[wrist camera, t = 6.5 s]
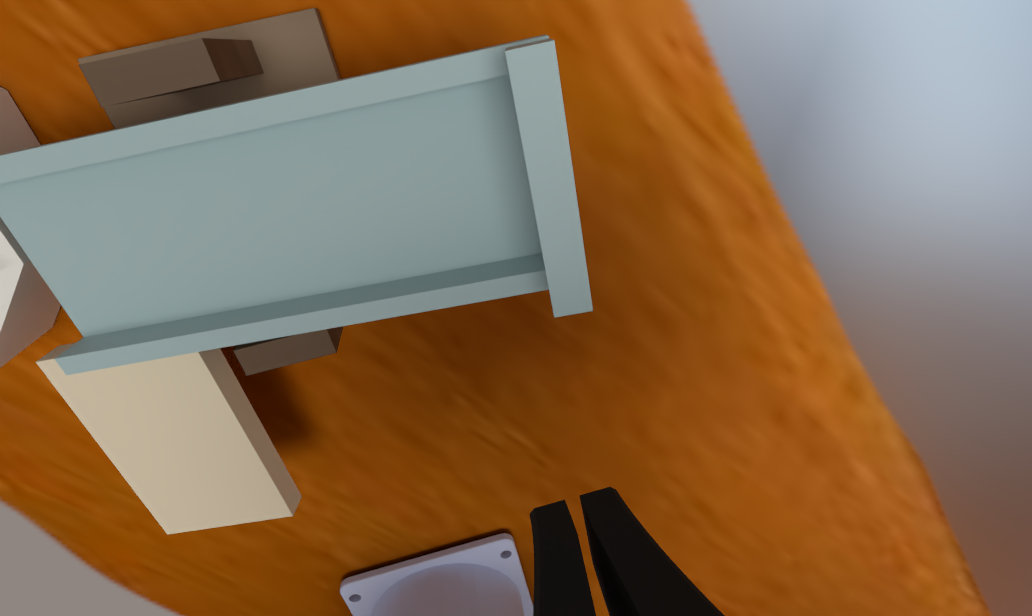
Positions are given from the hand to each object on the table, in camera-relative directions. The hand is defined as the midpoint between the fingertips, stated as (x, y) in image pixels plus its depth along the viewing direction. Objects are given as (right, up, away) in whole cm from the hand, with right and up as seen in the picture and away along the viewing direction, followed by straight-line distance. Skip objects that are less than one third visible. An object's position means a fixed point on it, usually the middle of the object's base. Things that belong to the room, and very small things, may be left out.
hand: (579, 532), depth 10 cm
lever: (-7, +4, +4) cm, 9 cm away
